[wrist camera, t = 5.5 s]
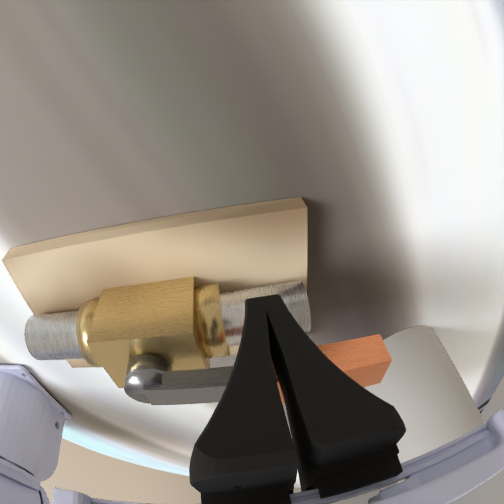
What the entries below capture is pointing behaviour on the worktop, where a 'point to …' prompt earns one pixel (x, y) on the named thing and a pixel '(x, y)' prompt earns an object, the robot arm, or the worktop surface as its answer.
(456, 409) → the cup
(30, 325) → the valve pipe
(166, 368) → the valve lever
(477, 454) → the robot arm
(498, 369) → the worktop surface
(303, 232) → the mount board
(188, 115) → the worktop surface
